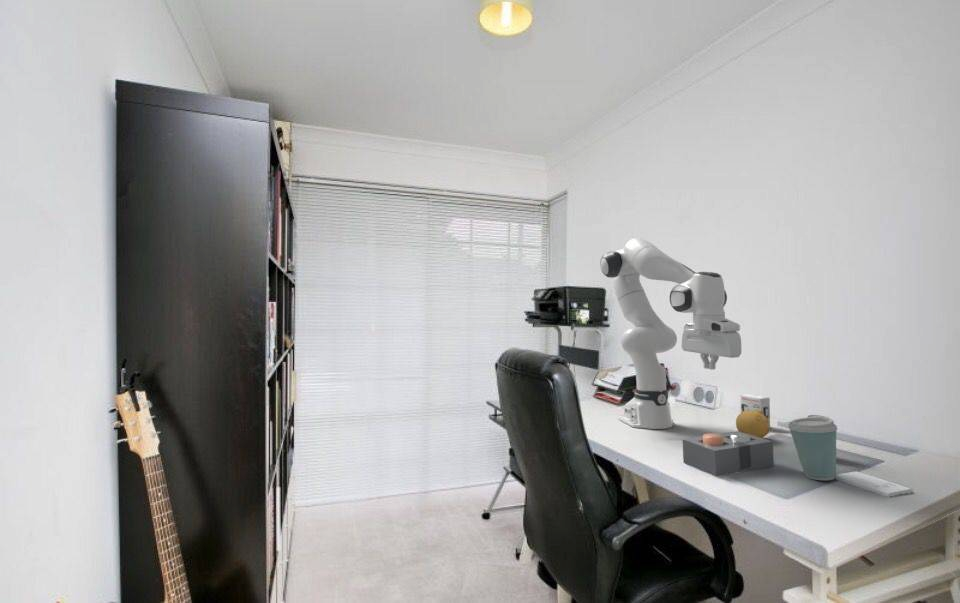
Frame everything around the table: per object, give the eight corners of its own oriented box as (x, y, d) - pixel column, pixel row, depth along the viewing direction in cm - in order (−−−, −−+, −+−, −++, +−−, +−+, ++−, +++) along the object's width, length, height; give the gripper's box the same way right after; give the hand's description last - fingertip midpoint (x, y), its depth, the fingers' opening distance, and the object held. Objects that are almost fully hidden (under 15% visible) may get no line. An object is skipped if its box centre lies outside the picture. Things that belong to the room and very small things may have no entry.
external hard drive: (857, 476, 120) (913, 494, 108) (834, 481, 118) (888, 499, 106) (857, 470, 120) (912, 488, 108) (834, 474, 118) (887, 492, 106)
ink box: (740, 425, 171) (738, 394, 171) (749, 424, 173) (747, 393, 174) (762, 431, 163) (760, 398, 163) (771, 429, 165) (769, 397, 166)
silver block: (726, 457, 134) (725, 433, 134) (740, 455, 136) (739, 431, 136) (741, 462, 129) (740, 438, 129) (755, 460, 131) (754, 436, 131)
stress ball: (733, 441, 156) (741, 428, 148) (731, 415, 162) (739, 402, 154) (765, 447, 153) (776, 434, 146) (762, 421, 159) (772, 407, 151)
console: (683, 462, 134) (682, 439, 134) (738, 453, 140) (737, 431, 140) (715, 476, 122) (714, 450, 122) (773, 465, 128) (772, 441, 129)
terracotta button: (699, 458, 131) (698, 434, 131) (713, 456, 133) (712, 432, 133) (714, 464, 126) (712, 439, 126) (728, 461, 128) (727, 437, 128)
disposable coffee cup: (808, 484, 115) (800, 425, 115) (786, 470, 125) (779, 416, 126) (854, 482, 113) (845, 422, 114) (828, 468, 123) (820, 413, 124)
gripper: (676, 322, 147) (676, 364, 147) (727, 326, 128) (728, 374, 128) (691, 322, 149) (692, 363, 149) (745, 325, 130) (745, 373, 130)
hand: (709, 368), depth 138 cm, fingers closed
